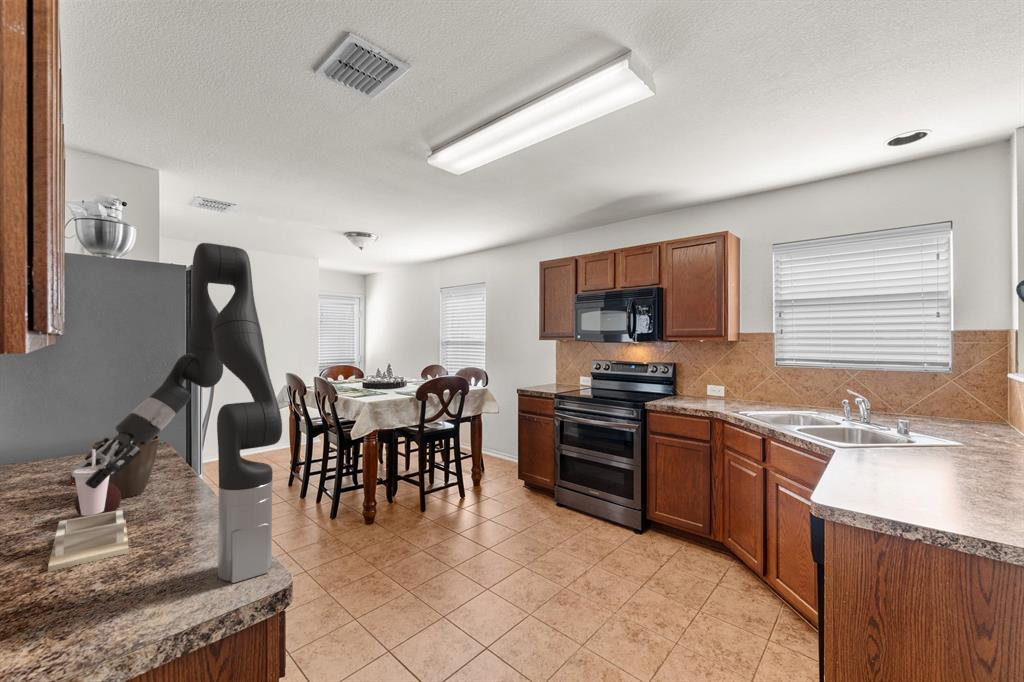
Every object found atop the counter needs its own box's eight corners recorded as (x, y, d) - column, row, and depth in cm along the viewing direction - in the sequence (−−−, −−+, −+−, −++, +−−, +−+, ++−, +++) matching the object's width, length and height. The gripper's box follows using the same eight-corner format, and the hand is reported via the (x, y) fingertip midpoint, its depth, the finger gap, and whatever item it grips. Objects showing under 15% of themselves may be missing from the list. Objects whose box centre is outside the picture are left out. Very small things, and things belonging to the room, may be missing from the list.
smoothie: (78, 520, 95) (78, 454, 95) (68, 514, 99) (68, 450, 99) (116, 510, 101) (116, 448, 101) (106, 504, 104) (106, 444, 104)
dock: (128, 553, 96) (128, 528, 96) (48, 572, 88) (48, 545, 88) (125, 524, 111) (125, 503, 111) (56, 538, 103) (56, 515, 103)
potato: (72, 530, 108) (73, 491, 108) (76, 515, 117) (77, 479, 117) (120, 520, 113) (121, 483, 113) (120, 507, 122) (121, 473, 122)
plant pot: (80, 506, 123) (80, 447, 123) (108, 489, 137) (109, 436, 137) (146, 500, 128) (146, 443, 128) (167, 484, 142) (167, 433, 142)
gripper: (119, 409, 110) (52, 470, 99) (149, 414, 103) (80, 480, 92) (144, 427, 114) (83, 487, 104) (175, 433, 108) (113, 498, 97)
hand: (82, 483), depth 98 cm, fingers closed on smoothie, 6 cm apart
